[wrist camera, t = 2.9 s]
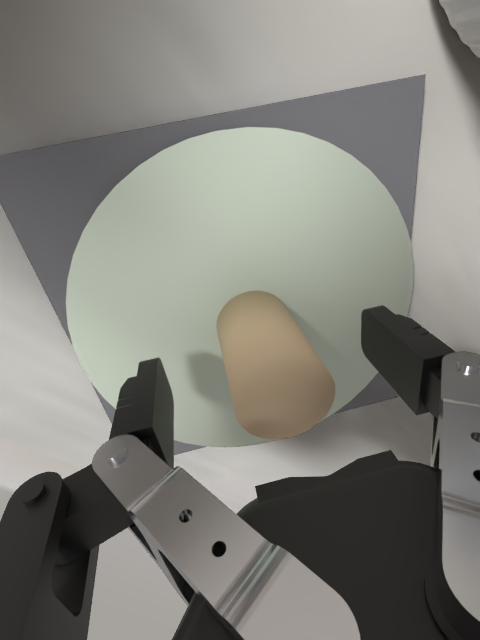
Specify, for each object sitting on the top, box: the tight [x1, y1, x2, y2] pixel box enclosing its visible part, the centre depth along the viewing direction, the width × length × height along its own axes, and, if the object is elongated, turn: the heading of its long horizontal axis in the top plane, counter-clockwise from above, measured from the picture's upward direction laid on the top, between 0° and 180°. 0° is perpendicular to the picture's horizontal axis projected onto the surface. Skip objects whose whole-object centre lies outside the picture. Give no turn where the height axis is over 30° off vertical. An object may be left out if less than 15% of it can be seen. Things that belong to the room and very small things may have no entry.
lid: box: [66, 127, 414, 447], centre depth 13 cm, size 15×15×6 cm
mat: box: [0, 74, 426, 455], centre depth 16 cm, size 16×16×1 cm
